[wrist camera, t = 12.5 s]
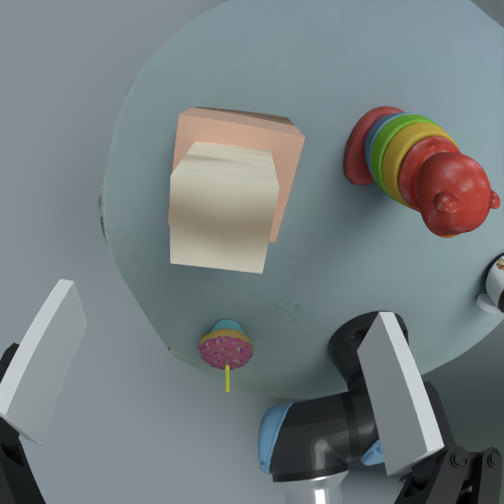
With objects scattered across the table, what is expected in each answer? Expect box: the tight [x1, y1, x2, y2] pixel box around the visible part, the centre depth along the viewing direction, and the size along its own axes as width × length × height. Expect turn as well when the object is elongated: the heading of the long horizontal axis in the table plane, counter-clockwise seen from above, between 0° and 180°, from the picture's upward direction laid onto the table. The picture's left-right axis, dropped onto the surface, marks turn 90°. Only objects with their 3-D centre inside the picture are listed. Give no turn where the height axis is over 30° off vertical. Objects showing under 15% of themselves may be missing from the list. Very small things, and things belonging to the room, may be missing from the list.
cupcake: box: [199, 320, 253, 397], centre depth 44 cm, size 9×8×12 cm
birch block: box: [170, 142, 279, 273], centre depth 21 cm, size 6×6×8 cm
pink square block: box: [168, 107, 305, 242], centre depth 26 cm, size 10×10×5 cm
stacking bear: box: [344, 106, 500, 238], centre depth 24 cm, size 11×10×18 cm
